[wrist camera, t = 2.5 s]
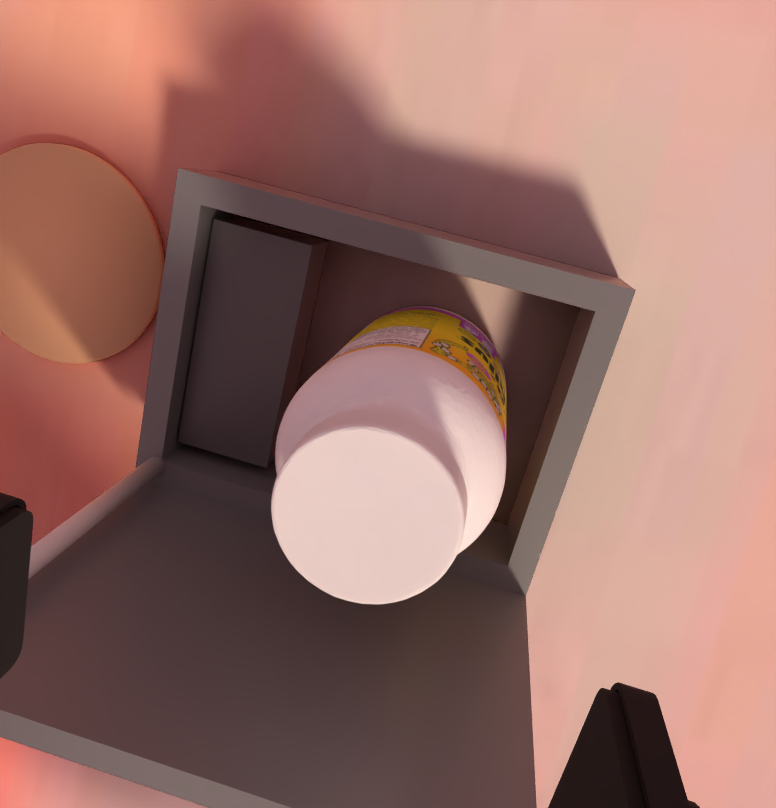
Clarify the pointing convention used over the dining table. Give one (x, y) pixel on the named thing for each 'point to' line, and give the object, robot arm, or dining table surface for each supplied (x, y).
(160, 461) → the case
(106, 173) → the pad
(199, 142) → the dining table surface
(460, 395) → the supplement bottle
